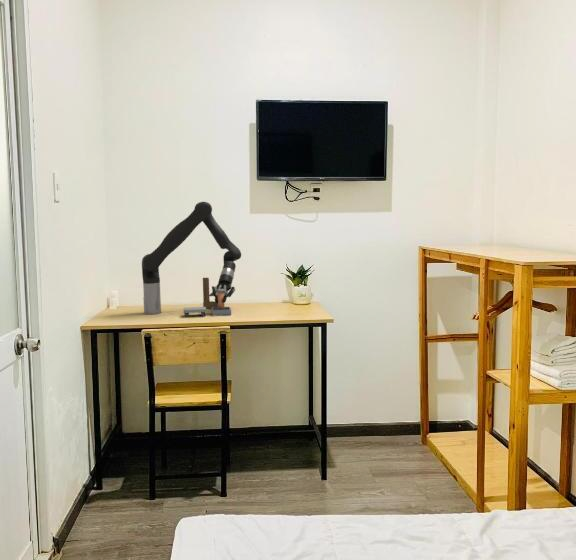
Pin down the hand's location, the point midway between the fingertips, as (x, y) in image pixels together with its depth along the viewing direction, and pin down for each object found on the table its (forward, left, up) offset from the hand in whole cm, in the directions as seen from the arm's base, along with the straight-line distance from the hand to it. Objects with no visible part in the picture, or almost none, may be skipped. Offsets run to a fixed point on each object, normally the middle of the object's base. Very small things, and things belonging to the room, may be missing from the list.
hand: (219, 302), depth 323 cm
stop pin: (+1, +2, -5) cm, 5 cm away
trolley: (-14, 0, -7) cm, 15 cm away
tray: (+1, +2, -7) cm, 7 cm away
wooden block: (-3, +24, -7) cm, 25 cm away
